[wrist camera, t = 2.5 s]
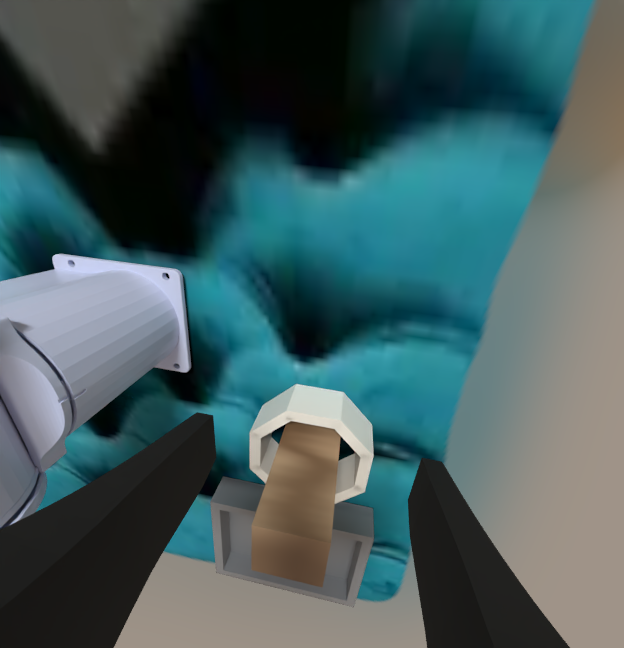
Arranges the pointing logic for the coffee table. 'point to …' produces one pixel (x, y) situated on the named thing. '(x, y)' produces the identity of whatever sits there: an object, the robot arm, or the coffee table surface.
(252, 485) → the tray
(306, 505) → the walnut peg
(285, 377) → the coffee table surface
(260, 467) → the white octagonal ring
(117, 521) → the robot arm
